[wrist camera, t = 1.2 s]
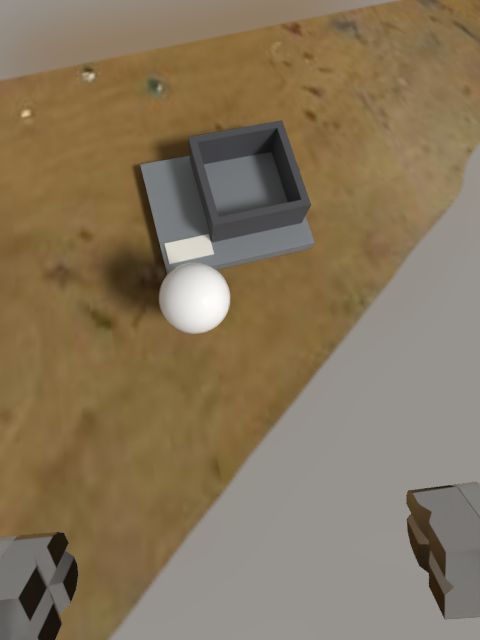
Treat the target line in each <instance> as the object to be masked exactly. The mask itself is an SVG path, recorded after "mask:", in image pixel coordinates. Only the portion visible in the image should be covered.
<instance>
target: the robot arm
mask: <svg viewBox="0 0 480 640" xmlns="http://www.w3.org/2000/svg"><path fill="white" fill-rule="evenodd" d="M406 496H407V497H406V501H407V502H406V504H407V506H408V508H409V510H410V512H411V515H410V516H409V517H408V518H407V531H408V536H409V540H410V544H411V547H412V550H413V553H414V555H415V558H416V559H417V562H418V564H419V566H420V567H421V568H423V569H424V570H425V571H427V572H428V573H429V588H430V590H431V592H432V594H433V596H434V598H435V600H436V602H437V604H438V606H439V608H440V611H441V613H442V615H443V617H444V619H460V618H475V617H480V484H479V483H477V482H470V483H462V484H454V485H447V486H439V487H431V488H424V489H415V490H408V492H407V495H406ZM68 544H69V542H68V540H67V538H66V536H65V534H64V533H63V532H52V533H40V534H29V535H20V536H11V537H0V640H55V639H56V637H57V635H58V632H59V630H60V628H61V625H62V621H61V617H60V613H61V612H62V611H63V610H64V609H65V608H66V607H67V606H68V605H69V604H70V603H71V601H72V599H73V596H74V594H75V591H76V588H77V581H78V565H77V562H76V560H75V557H74V556H73V555H71V554H70V553H68V552H67V551H66V548H67V546H68Z"/></svg>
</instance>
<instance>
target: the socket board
mask: <svg viewBox="0 0 480 640" xmlns="http://www.w3.org/2000/svg"><path fill="white" fill-rule="evenodd" d="M188 140H189V154H190V156H185V157H179V158H174V159H168V160H163V161H157V162H152V163H147V164H141V165H140V166H141V170H142V174H143V178H144V182H145V186H146V190H147V194H148V198H149V202H150V206H151V210H152V215H153V219H154V223H155V227H156V231H157V235H158V239H159V243H160V247H161V251H162V255H163V259H164V263H165V267H166V271H167V275H168V274H169V273H170V272H171V271H172V270H173V269H175V268H176V267H178V266H180V265H183V264H187V263H202V264H206V265H208V266H211V267H212V268H214V269H215V270H218V269H223V268H227V267H231V266H236V265H240V264H244V263H249V262H253V261H258V260H262V259H266V258H271V257H275V256H279V255H284V254H288V253H292V252H297V251H301V250H306V249H310V248H312V246H313V244H314V240H313V237H312V234H311V231H310V228H309V225H308V222H307V219H306V214H307V212H308V210H309V208H310V206H311V204H310V201H309V198H308V195H307V192H306V189H305V186H304V183H303V180H302V177H301V174H300V171H299V169H298V166H297V163H296V160H295V157H294V154H293V151H292V148H291V145H290V142H289V139H288V136H287V134H286V131H285V128H284V125H283V122H282V121H276V122H270V123H265V124H259V125H253V126H248V127H242V128H236V129H231V130H225V131H220V132H214V133H208V134H203V135H197V136H191V137H188Z"/></svg>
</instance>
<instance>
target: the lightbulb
mask: <svg viewBox="0 0 480 640" xmlns="http://www.w3.org/2000/svg"><path fill="white" fill-rule="evenodd" d="M159 305H160V309H161V311H162V314H163V316H164V317H165V319H166V320H167V321H168V322H169V323H170V324H171V325H172V326H173V327H175V328H176V329H178V330H180V331H182V332H186V333H191V334H199V333H204V332H207V331H210V330H212V329H213V328H215V327H216V326H218V325H219V324H220V323H221V322H222V320H223V319H224V318H225V316H226V314H227V312H228V309H229V306H230V291H229V288H228V285H227V283H226V281H225V279H224V278H223V276H222V275H221V274H220V273H219V272H218V271H217V270H215V269H214V268H212V267H211V266H208V265H206V264H202V263H187V264H183V265H180V266H178V267H176V268H175V269H173V270H172V271H171V272H170V273H169V274H168V275H167V276H166V277H165V279H164V280H163V282H162V284H161V287H160V291H159Z"/></svg>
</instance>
